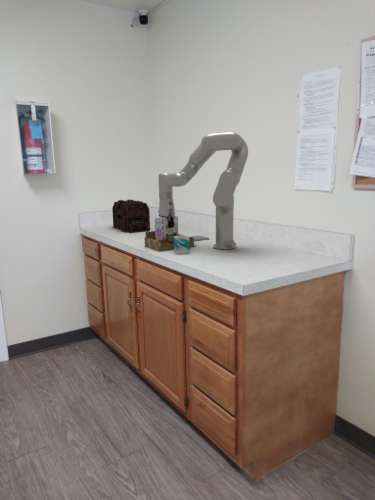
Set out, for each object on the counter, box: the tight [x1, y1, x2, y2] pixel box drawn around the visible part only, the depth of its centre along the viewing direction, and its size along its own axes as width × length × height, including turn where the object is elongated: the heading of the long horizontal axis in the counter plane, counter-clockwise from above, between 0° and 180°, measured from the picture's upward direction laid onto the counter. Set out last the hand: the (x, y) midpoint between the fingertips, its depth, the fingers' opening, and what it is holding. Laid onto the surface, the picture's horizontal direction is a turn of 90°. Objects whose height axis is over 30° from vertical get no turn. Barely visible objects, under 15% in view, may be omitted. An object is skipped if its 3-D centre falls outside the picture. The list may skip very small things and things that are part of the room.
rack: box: [143, 230, 195, 252], centre depth 222 cm, size 18×22×8 cm
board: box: [190, 235, 210, 242], centre depth 242 cm, size 11×19×1 cm, turn 122°
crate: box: [111, 199, 151, 234], centre depth 288 cm, size 35×19×21 cm, turn 28°
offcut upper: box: [167, 234, 183, 244], centre depth 216 cm, size 3×8×4 cm, turn 119°
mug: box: [174, 235, 191, 255], centre depth 207 cm, size 8×12×8 cm
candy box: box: [154, 215, 179, 240], centre depth 223 cm, size 14×6×16 cm, turn 143°
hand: (166, 226), depth 222 cm, fingers open, 9 cm apart
